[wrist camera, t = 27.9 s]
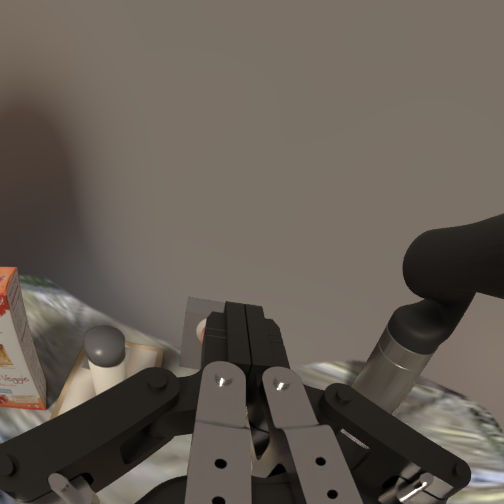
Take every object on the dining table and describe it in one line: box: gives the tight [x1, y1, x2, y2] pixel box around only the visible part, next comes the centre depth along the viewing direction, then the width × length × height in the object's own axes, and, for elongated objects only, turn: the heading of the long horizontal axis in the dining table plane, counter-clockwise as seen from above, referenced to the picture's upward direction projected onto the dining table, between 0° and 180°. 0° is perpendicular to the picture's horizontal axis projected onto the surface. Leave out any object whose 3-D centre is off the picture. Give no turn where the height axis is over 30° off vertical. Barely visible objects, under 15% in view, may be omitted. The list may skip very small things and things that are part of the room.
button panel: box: [180, 297, 225, 369], centre depth 46 cm, size 10×4×12 cm, turn 95°
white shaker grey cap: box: [84, 326, 127, 396], centre depth 29 cm, size 5×5×14 cm
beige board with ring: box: [50, 342, 164, 420], centre depth 36 cm, size 14×20×2 cm
